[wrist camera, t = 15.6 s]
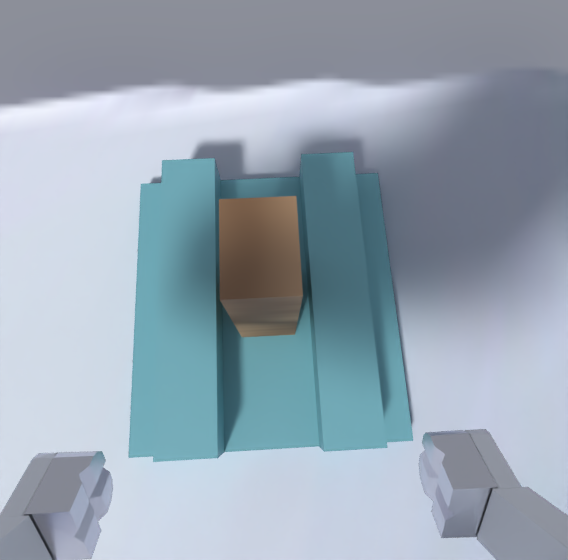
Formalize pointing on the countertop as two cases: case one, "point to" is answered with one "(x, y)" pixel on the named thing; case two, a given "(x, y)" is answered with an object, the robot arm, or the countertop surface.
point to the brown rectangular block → (260, 264)
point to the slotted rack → (265, 349)
